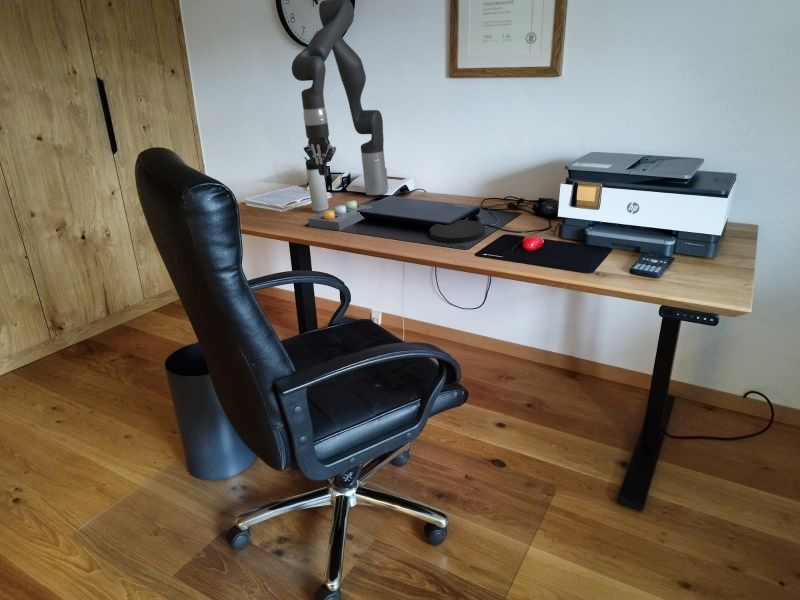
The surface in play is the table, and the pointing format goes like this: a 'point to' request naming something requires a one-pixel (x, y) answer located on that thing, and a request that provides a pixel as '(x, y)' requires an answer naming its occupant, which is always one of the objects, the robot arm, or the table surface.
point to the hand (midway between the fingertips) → (323, 174)
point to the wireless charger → (458, 232)
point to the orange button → (329, 215)
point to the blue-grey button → (340, 209)
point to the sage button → (351, 204)
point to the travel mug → (316, 188)
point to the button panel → (338, 219)
